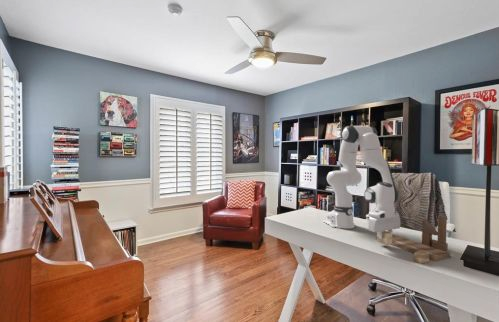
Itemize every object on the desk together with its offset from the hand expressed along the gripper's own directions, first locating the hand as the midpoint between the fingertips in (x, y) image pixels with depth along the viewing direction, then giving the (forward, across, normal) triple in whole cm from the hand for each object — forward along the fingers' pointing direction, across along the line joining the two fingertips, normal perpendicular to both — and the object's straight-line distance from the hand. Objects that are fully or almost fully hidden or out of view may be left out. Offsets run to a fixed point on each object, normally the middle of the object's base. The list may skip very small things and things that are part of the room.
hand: (384, 237), depth 133 cm
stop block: (+5, 0, +20) cm, 20 cm away
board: (+5, -12, +6) cm, 14 cm away
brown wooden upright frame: (+5, -24, +11) cm, 27 cm away
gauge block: (+3, 0, 0) cm, 3 cm away
